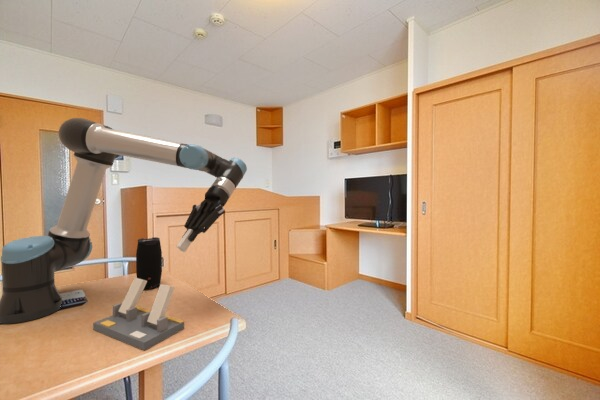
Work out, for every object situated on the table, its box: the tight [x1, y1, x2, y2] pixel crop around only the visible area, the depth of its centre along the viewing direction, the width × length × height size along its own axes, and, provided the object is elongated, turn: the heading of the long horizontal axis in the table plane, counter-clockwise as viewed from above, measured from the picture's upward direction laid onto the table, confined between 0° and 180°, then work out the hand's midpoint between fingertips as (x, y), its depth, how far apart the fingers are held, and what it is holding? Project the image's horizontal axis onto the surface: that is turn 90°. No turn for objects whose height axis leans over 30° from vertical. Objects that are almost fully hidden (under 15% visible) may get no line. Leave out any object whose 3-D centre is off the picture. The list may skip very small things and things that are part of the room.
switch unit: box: [92, 302, 185, 351], centre depth 77 cm, size 22×12×5 cm, turn 64°
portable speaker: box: [135, 236, 163, 290], centre depth 110 cm, size 9×9×20 cm
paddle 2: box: [147, 283, 175, 326], centre depth 76 cm, size 5×2×10 cm, turn 64°
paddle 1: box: [118, 277, 147, 316], centre depth 82 cm, size 5×2×10 cm
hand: (180, 249), depth 82 cm, fingers closed
